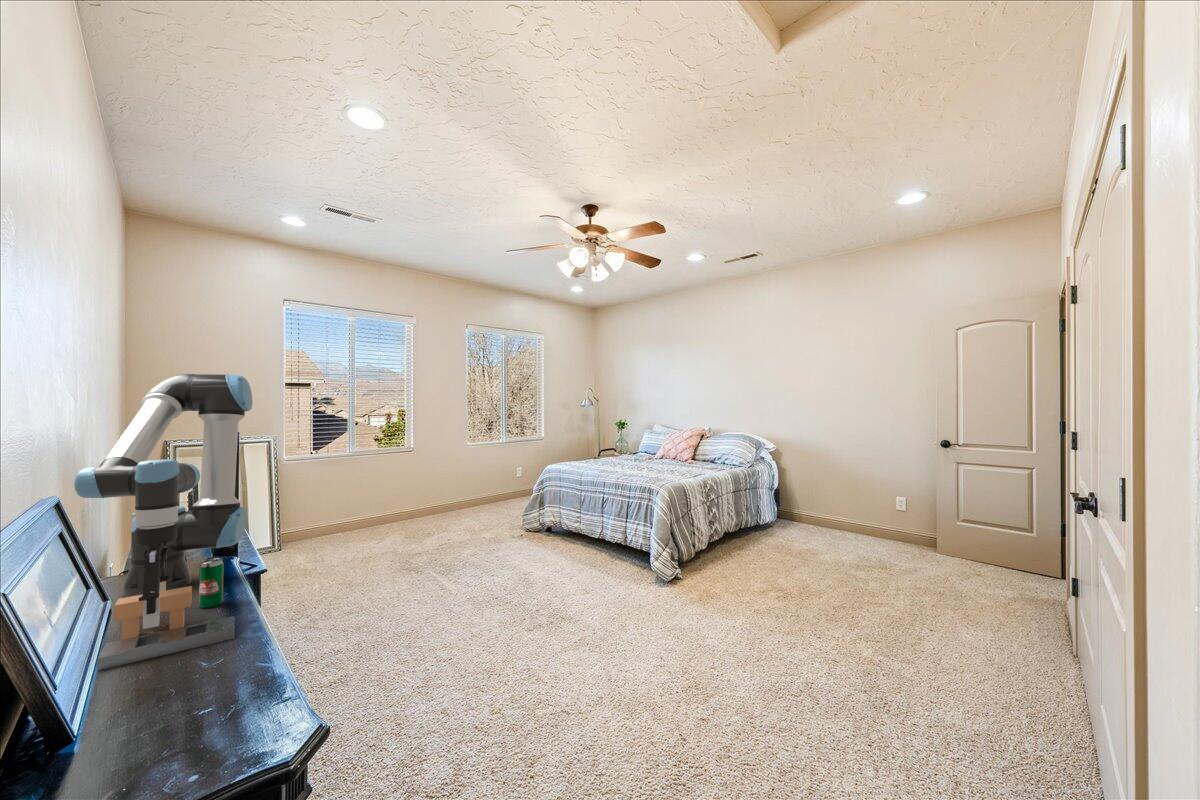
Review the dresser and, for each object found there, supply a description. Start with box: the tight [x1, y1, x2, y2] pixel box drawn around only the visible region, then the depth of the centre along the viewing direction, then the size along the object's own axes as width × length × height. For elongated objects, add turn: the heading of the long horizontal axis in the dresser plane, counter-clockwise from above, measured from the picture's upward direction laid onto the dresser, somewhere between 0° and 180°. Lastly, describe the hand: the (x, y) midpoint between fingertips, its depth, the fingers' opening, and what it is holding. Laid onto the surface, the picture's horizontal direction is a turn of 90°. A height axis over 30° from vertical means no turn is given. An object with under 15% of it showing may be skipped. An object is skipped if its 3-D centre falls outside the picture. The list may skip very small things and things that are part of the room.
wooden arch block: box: [113, 585, 193, 640], centre depth 112 cm, size 5×13×9 cm, turn 128°
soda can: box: [198, 557, 224, 609], centre depth 128 cm, size 5×5×12 cm
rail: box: [96, 615, 236, 672], centre depth 106 cm, size 8×22×2 cm, turn 128°
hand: (154, 617), depth 112 cm, fingers open, 11 cm apart
